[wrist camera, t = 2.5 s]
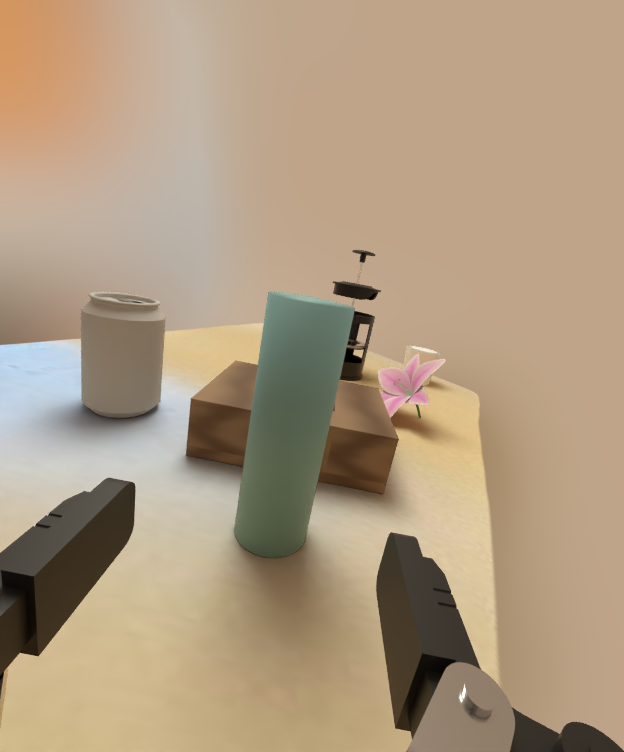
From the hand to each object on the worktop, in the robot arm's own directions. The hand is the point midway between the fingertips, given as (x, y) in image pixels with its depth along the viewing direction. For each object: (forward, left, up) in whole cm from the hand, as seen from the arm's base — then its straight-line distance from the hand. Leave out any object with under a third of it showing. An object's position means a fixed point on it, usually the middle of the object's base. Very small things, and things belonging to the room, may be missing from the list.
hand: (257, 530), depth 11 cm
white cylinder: (+22, +62, -10) cm, 67 cm away
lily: (+14, +39, -10) cm, 42 cm away
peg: (0, +11, -10) cm, 15 cm away
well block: (0, +25, -10) cm, 27 cm away
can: (-19, +25, -10) cm, 33 cm away
